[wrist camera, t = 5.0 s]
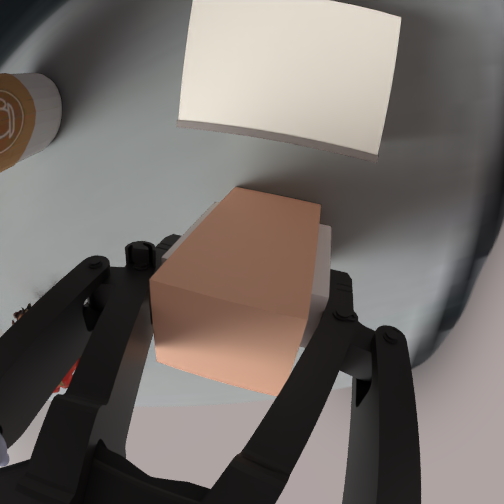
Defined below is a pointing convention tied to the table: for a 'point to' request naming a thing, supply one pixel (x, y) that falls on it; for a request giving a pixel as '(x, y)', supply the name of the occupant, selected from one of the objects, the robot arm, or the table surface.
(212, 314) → the salmon orange rectangular block
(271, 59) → the cream white block
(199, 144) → the table surface
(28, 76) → the coffee cup
